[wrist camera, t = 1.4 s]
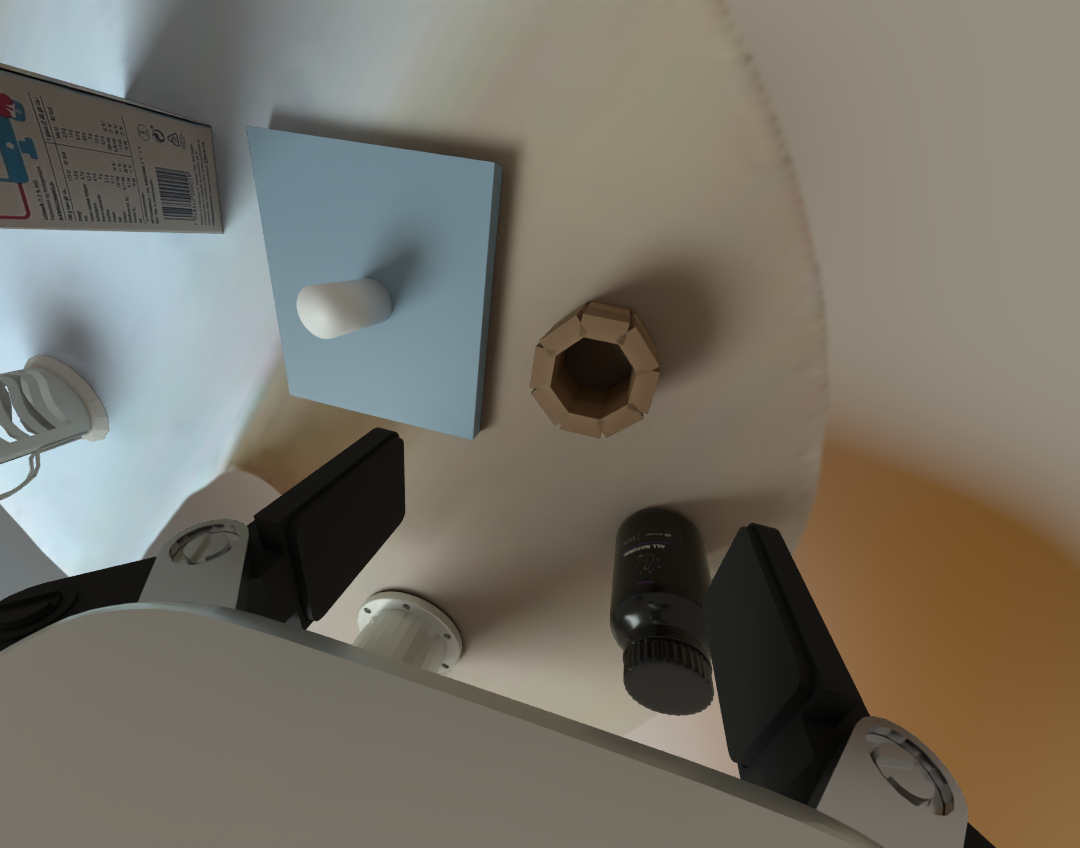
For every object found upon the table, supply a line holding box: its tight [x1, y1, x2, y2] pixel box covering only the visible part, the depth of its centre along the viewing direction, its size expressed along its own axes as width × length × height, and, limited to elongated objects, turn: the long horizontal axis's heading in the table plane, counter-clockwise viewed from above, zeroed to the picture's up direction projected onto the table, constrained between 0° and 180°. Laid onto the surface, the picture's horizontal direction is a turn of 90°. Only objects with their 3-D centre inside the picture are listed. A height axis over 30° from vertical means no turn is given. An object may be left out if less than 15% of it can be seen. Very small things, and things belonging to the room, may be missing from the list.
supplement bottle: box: [610, 509, 714, 716], centre depth 26 cm, size 7×7×12 cm
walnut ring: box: [530, 301, 660, 438], centre depth 24 cm, size 7×7×5 cm
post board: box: [246, 126, 503, 440], centre depth 25 cm, size 18×16×6 cm
